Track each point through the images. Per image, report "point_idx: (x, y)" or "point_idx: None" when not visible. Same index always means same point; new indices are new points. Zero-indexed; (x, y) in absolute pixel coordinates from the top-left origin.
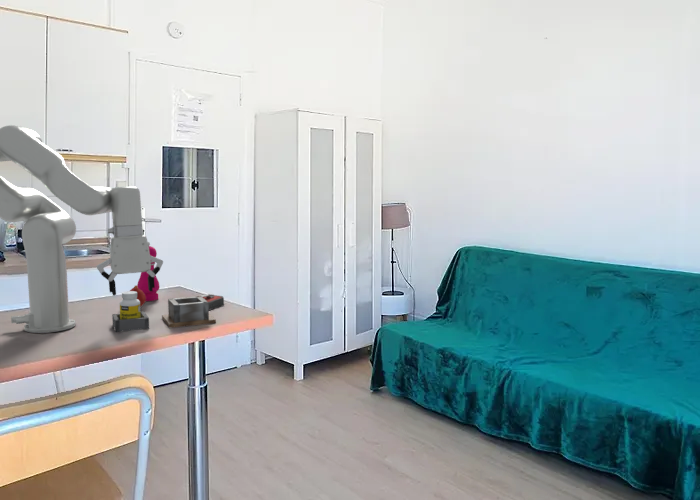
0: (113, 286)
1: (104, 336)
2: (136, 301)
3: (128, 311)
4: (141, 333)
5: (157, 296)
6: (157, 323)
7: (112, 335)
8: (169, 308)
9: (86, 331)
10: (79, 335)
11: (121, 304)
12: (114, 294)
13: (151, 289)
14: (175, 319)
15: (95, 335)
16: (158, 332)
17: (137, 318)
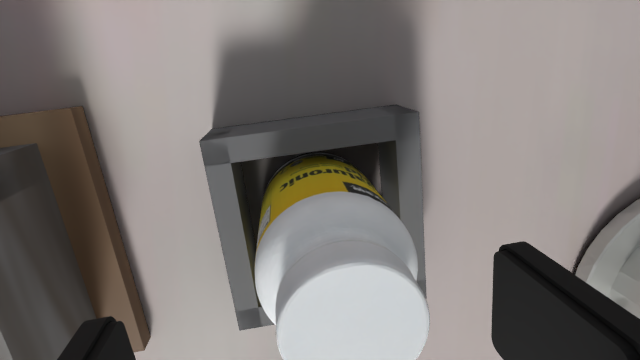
0: (595, 294)
1: (458, 23)
2: (283, 240)
3: (342, 178)
4: (253, 22)
5: None
6: (169, 235)
7: (416, 32)
8: (64, 341)
9: (533, 166)
10: (573, 92)
11: (405, 227)
12: (514, 244)
13: (92, 330)
14: (17, 149)
15: (500, 64)
16: (146, 10)
17: (277, 146)
